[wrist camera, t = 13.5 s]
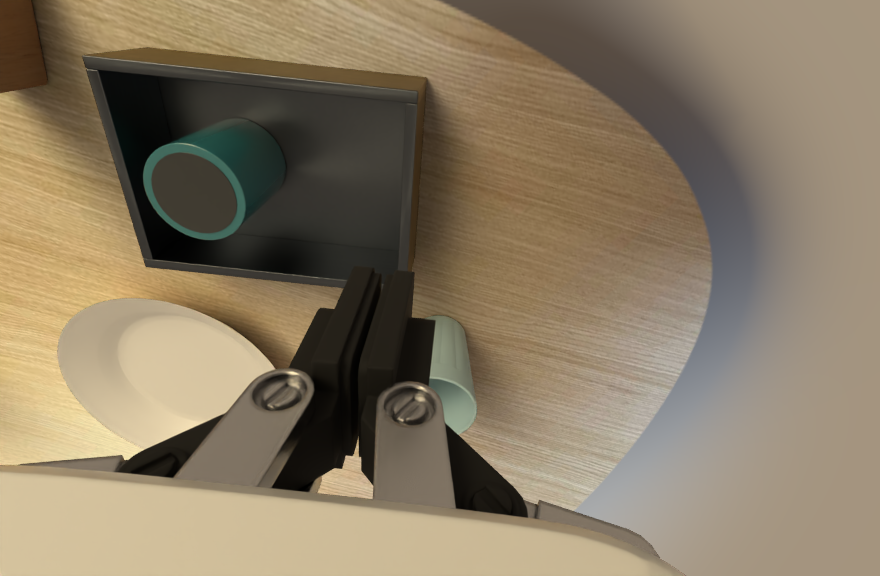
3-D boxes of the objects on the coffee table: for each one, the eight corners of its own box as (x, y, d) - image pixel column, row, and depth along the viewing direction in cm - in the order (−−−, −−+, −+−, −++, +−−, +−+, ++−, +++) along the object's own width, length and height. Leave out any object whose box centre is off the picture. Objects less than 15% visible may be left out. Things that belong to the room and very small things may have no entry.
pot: (211, 196, 39) (156, 235, 33) (194, 113, 36) (129, 137, 29) (289, 204, 39) (251, 245, 33) (281, 122, 36) (237, 149, 29)
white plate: (335, 348, 49) (326, 371, 46) (260, 465, 61) (249, 489, 58) (101, 236, 43) (73, 253, 40) (69, 390, 55) (46, 412, 52)
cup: (388, 336, 48) (370, 410, 39) (435, 292, 44) (428, 362, 36) (441, 373, 50) (436, 451, 41) (489, 334, 47) (495, 409, 38)
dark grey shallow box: (146, 47, 34) (81, 55, 28) (427, 77, 34) (418, 91, 28) (189, 232, 42) (145, 267, 37) (414, 256, 42) (406, 295, 37)
